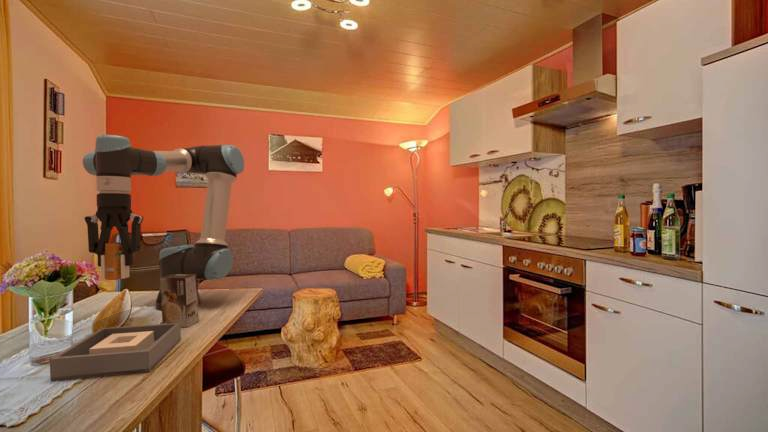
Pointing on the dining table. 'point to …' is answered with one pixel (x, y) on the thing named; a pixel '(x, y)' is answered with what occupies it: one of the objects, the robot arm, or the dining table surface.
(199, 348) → the dining table surface
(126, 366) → the walled box
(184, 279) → the coffee box
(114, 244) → the supplement box
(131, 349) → the socket block
